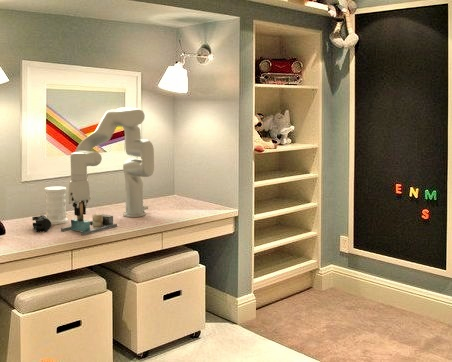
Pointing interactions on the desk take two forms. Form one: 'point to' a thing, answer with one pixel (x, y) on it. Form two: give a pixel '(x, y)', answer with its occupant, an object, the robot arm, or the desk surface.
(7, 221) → the desk surface
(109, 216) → the vise frame
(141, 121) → the robot arm
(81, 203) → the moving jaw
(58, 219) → the decorative container
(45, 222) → the end cap
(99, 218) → the beige cylinder
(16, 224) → the desk surface
